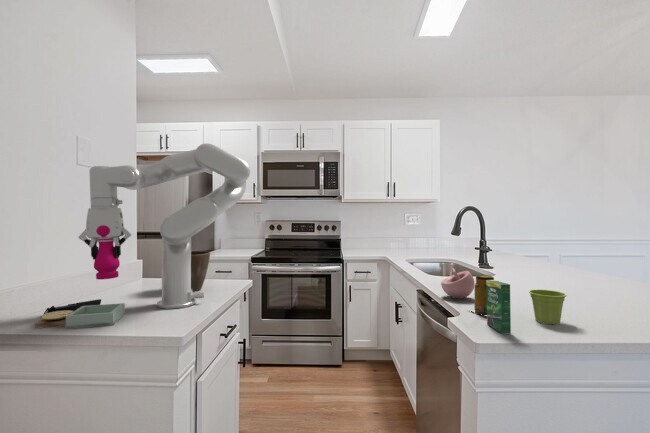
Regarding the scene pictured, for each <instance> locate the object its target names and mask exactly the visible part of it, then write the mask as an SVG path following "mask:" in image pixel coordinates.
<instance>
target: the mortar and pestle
mask: <svg viewBox="0 0 650 433" xmlns="http://www.w3.org/2000/svg"><path fill="white" fill-rule="evenodd" d="M451 272H452V274H451V275H450V276H447V277H445V278H444V279H443V280H441V282H440V285H441V288H442V290H443V291H444V293H445V294H446V295H447V296H449V297H451V298H454V299H457V298H461V299H465V298H467V297H469V296H470V295H471V294H472V293H473V291H474V290H475V289H474V288H475V284H476V282H475V278H474V276H473V275H472V273H471V272H470V271H468V270H463V271H460V272H457V271H456V269H455V268H454V267H452V268H451Z"/></svg>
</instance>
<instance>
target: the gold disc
mask: <svg viewBox="0 0 650 433" xmlns="http://www.w3.org/2000/svg"><path fill="white" fill-rule="evenodd" d="M72 312H74V311H70V310H64V311H55V312H50V313H46V314H44V313H43V314H44V315H43V314H42V315H41V320H53V321H56V320H63V318H66V316H67V315H69V314H70V313H72Z"/></svg>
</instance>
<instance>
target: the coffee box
mask: <svg viewBox="0 0 650 433" xmlns="http://www.w3.org/2000/svg"><path fill="white" fill-rule="evenodd" d="M486 294H487V317H486V324H487V326H489V327H490V326H491V327H490V328H492V329H494V330H495V331H496V332H499V333H500V334H502V335H505V334H507V335H509V334H511V333H512V329H511V328H512V326H511V323H512V322H511V320H512V319H511V284H509V283H506V282H503V281H499V280H495V279H494V280H486Z"/></svg>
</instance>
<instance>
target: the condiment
mask: <svg viewBox="0 0 650 433" xmlns="http://www.w3.org/2000/svg"><path fill="white" fill-rule="evenodd" d="M486 280H495V278H494V276H492V275H487V274H478V275H476V276H475V285H474V289H473V290H474V294H473V295H474V310H475V313H474V315H479V314H482V315H483V316H482V315H479V316H481V317H486V318H487V316H484V315H487V294H486ZM471 311H472V310H471V309H470V310H468V312H469V313H472V312H471Z"/></svg>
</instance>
